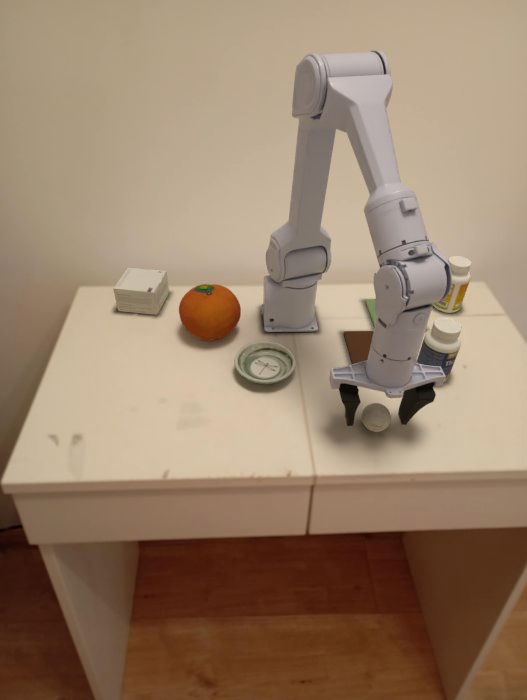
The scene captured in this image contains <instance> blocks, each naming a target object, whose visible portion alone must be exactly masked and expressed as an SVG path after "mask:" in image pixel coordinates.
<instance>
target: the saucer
mask: <svg viewBox="0 0 527 700" xmlns="http://www.w3.org/2000/svg"><path fill="white" fill-rule="evenodd" d="M296 364H297V361H296V358H295V355H294V354H293V352H292V351H291V349H289V348H288V347H286V346H284V345H283V344H280V343H277V342H274V341H268V340H267V341H266V340H259V341H254V342H251V343H248V344H246V345H244V346H243V347H241V348H240V349H239V350H238V351H237V352H236V354H235V356H234V367H235V370H236V371H237V373H238V374H239V375H240V376H241V377H242V378H243V379H245V380H247V381H249V382H252V383H255V384H261V385H271V384H272V385H273V384H276V383H280V382H282V381H284V380H286V379H287V378H289V377H290V376H291V375H292V374H293V373H294V371H295V368H296Z"/></svg>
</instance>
